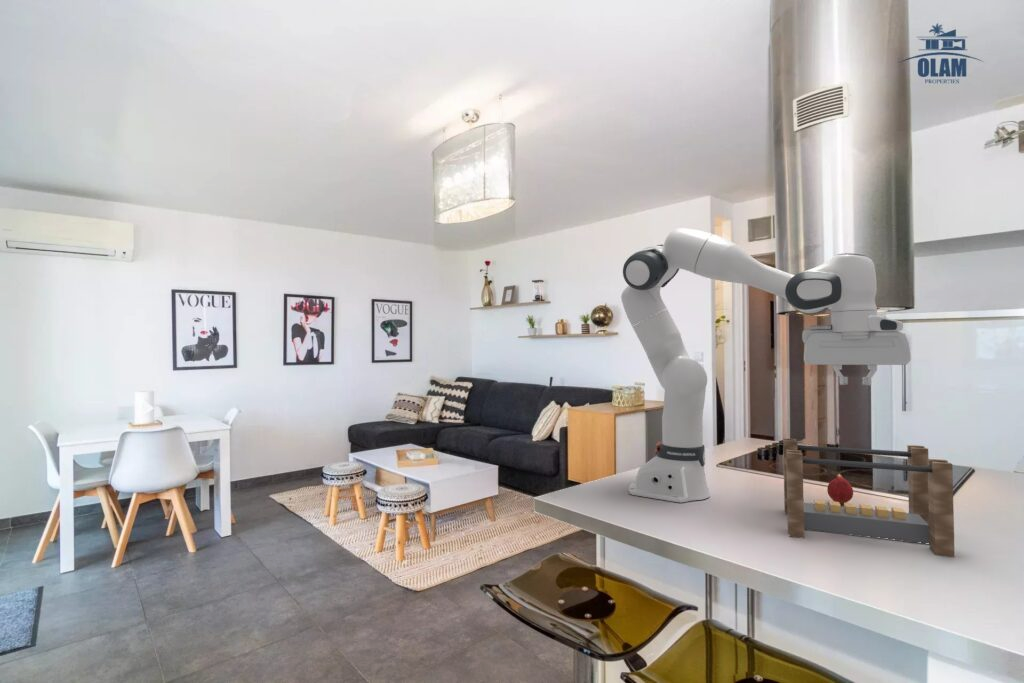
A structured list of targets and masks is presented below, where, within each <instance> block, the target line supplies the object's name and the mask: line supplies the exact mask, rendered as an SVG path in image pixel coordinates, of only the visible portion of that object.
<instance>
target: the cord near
mask: <svg viewBox="0 0 1024 683" xmlns="http://www.w3.org/2000/svg"><path fill="white" fill-rule="evenodd" d="M803 464H807V465H819V466H820V465H822V466H832V467H833V466H836V467H837V466H838V467H848V468H849V467H850V468H862V469H863V468H865V469H875V470H876V469H878V470H888V471H889V470H891V471H903V472H908V471H916V472H930V473H932V467H929V466H915V465H908V464H897V463H896V464H895V463H883V462H869V461H867V462H866V461H852V460H842V459H841V460H840V459H825V458H824V459H822V458H809V457H807V458H806V457H803Z"/></svg>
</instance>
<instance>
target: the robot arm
mask: <svg viewBox="0 0 1024 683" xmlns="http://www.w3.org/2000/svg"><path fill="white" fill-rule="evenodd" d="M680 270H684V271H687V272H690V273H693V274H694V275H697V276H701V277H703V278H706V279H711V280H714V281H720V282H727V283H736V284H742V285H747V286H750V287H754V288H756V289H759V290H762V291H764V292H767V293H769V294H772V295H774V296H777V297H780V298H781V299H782V300H784V301H786V302H788V303H789V305H790V306H792V308H793V309H794V310H796V311H797V312H799V313H800V314H802V315H806V316H816V315H820V314H823V313H824V312H826V311H827V310H829V309H830V320H831V321H830V322H831V323H830V324H823V325H809V326H808V327H806V328H804V329H803V330H802V333H801V339H802V340H801V341H802V342H803V344H804V350H803V352H804V353H803V361H804V362H805V364H806V365H808V366H809V365H810V366H811V365H813V366H815V365H816V366H817V365H819V366H820V365H821V366H822V365H823V366H825V365H827V366H830V365H831V366H832V365H833V371H834V372H835V373H836V375H837V376H838V378H839V379H838V380H839V386H840V385H841V386H848V385H849V376H844V374H842V372H841V371H840V370H843V365H844V366H847V365H848V366H855V365H856V366H860V365H861V366H865V365H866V366H867V370H869V372H868V374H867V375H866V376H862V377H861V378H862V379H861V380H862V381H861V383H862V384H861V385H862V386H872V378H873V376H874V375H875V374H876V372H877V370H878V366H887V365H888V366H894V365H895V366H906V365H908V364H909V363H910V362H911V360H912V359H911V356H912V355H911V349H910V342H909V338H908V337H907V336H906V334H905V333H904V332H901V331H902V330H903V329H904V323H903V322H902V321H899V320H897V319H891V318H888V317H884V316H879V315H878V307H877V305H876V295H877V292H878V288H877V287H878V286H877V274H876V273H877V272H876V266H875V263H874V261H873V260H872V259H871V258H870V257H869V256H867V255H865V254H860V253H847V252H845V253H838V254H835V255H834V256H833V257H832V258H829V260H827V261H825V262H824V263H821V264H819V265H817V266H815V267H813V268H809V269H807V270H805V271H803V270H802V271H800V272H799V273H796V274H792V273H790V272H786V271H784V270H780V269H778V268H775V267H773V266H770V265H768V264H765V263H762V262H761V261H759V260H757V259H755V258H754V257H753V256H752V255H750V254H749V253H748V252H746V250H744V249H743V248H742V246H739V245H738V244H737V243H734V242H733V241H731V240H729V239H727V238H725V237H723V236H721V235H719V234H715V233H712V232H709V231H705V230H701V229H696V228H692V227H691V228H690V227H681V226H680V227H677V228H675V229H673V230H671V231H670V232H669V234H668V235H667V236H666V238H665V240H664V243H663V244H657V245H653V246H649V247H645V248H643V249H642V250H639V251H636V252H634V253H633V254H631V255H630V256H629V257H628V258H627V259H626V261H625V262H624V264H623V267H622V276H623V279H624V281H625V283H626V284H627V285H628V286H626V287H625V288H624V290H623V291H622V292H621V297H620V298H621V303H622V306H623V309H624V312H625V315H626V317H627V319H628V322H629V323H630V325H631V327H632V329H633V331H634V332H635V334H636V336H637V338H638V341H639V342H640V344H641V346H642V348H643V350H644V352H645V354H646V356H647V359H648V360H649V363H650V365H651V368H652V369H653V372H654V374H655V376H656V378H657V381H658V382H659V383H660V386H661V387H662V388H663V389H664V398H663V408H662V409H663V410H662V415H661V426H662V427H661V431H662V432H661V433H662V436H661V437H662V440H661V441H657V443H656V444H655V448H654V450H655V456H654V457H653V458H650V459H649V461H647V462H645V463H644V464H642V465H641V466H640V468H639V469H638V470H637V473H636V474H637V475H636V477H635V478H636V479H635V481H634V482H632V483H630V484H629V486H628V488H627V489H628V490H627V491H628V493H629V494H630V495H632V496H637V497H644V498H650V499H656V500H663V501H667V502H672V503H673V502H675V503H686V502H693V501H701V500H705V499H708V498H709V497H711V493H710V491H709V487H708V483H707V477H706V472H705V464H706V449H705V444H704V442H703V441H704V438H703V437H704V435H703V434H704V431H703V430H704V429H703V416H704V407H705V400H706V389H707V386H708V385H707V384H708V376H707V373H706V370H705V369H704V367H703V366H702V364H700V363H699V362H698V361H696V360H694V359H691V358H690V355H689V353H688V352H687V349H686V347H685V345H684V344H685V343H684V342H683V338H682V334H681V333H680V331H679V329H678V326H677V325H676V322H675V321H674V319H673V317H672V316H671V315H672V314H670V312H669V309H668V308H667V306H666V304H665V302H664V300H663V299H662V296H661V288H664V287H666V286H667V284H668V283H669V282H671V281H672V279H674V277H675V276H676V275H677V274H678V273H679V271H680Z"/></svg>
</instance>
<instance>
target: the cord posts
mask: <svg viewBox="0 0 1024 683" xmlns="http://www.w3.org/2000/svg"><path fill="white" fill-rule="evenodd" d="M782 444H783V445H782V446H783V447H782V450H783V451H782V456H783V493H784V494H783V496H784V498H783V500H784V501H783V502H784V515H785V514H788V515H787V533H789V534H788V536H789V535H790V536H789V537H792V536H796V537H795V538H800V537H804V538H805V529H804V503H805V502H804V499H805V498H804V463H803V458H804V457H803V456H804V455H803V453H802V450H798V445H799V444H798V439H797V438H787V437H786V438H785V437H783V438H782ZM906 450H907V451H906V452H911V457H907V465H915V466H929V467H932V473H930V472H916V471H907V485H908V486H907V488H908V489H907V490H908V491H907V492H908V513H913V514H919V515H920V516H921V517H922V518H923V519H924V520H925V521H926V523H927V524H928V525H929V543H930V544H929V549H930V548H931V549H930V550H931V551H932V552H933V554H934V555H935V554H936V555H937V556H944V557H951V558H955V518H954V512H955V511H954V510H955V509H954V478H953V476H954V474H953V473H954V470H953V469H954V468H953V463H951V462H949V461H948V460H946V459H936V458H929V448H927V447H925V446H924V445H917V444H914V445H913V444H907V449H906Z"/></svg>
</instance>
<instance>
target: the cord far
mask: <svg viewBox="0 0 1024 683" xmlns="http://www.w3.org/2000/svg"><path fill="white" fill-rule="evenodd" d="M797 445H798V451H812V452H825V453H826V452H827V453H828V452H829V453H841V454H844V453H845V454H858V455H874V456H875V455H876V456H888V457H889V456H890V457H906V458H908V457H911V452H907V451H904V450H890V449H889V450H887V449H873V448H871V449H869V448H852V447H835V446H820V445H803V444H802V445H801V444H797Z"/></svg>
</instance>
